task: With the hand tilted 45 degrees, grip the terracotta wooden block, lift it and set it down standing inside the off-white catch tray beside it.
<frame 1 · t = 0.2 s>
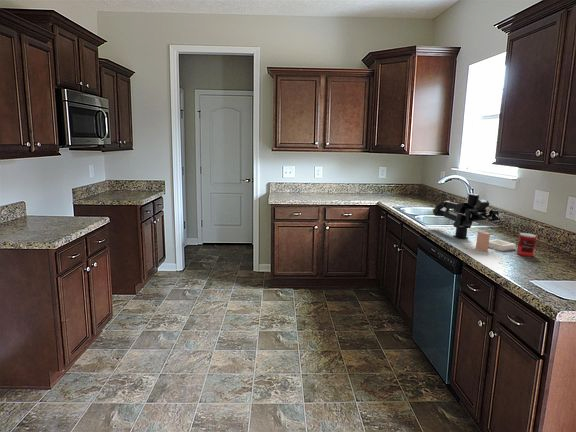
hand: (492, 219, 228), 17 cm above the worktop, tool horizontal, fingers open, 9 cm apart
canned food: (524, 255, 222), on the worktop
catch tray: (499, 247, 234), on the worktop
terracotta block: (481, 249, 228), on the worktop
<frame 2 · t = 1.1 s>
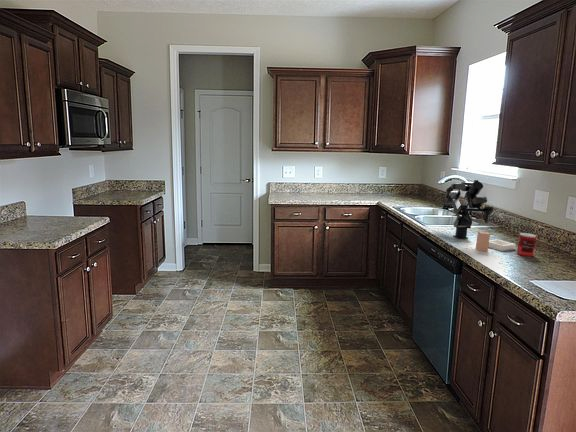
hand: (478, 222, 233), 13 cm above the worktop, tool tilted 45°, fingers open, 9 cm apart
nothing on the worktop moved.
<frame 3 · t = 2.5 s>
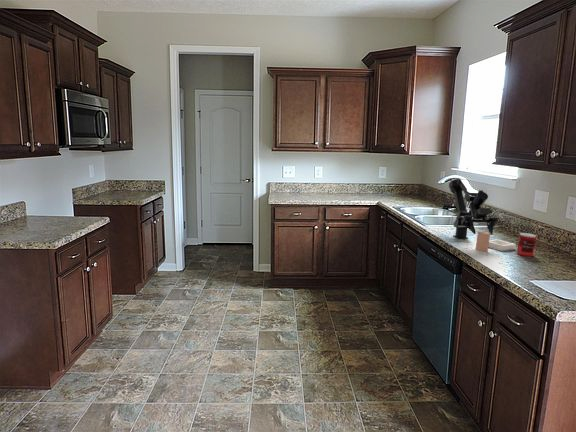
hand: (483, 234, 227), 9 cm above the worktop, tool tilted 45°, fingers open, 9 cm apart
nothing on the worktop moved.
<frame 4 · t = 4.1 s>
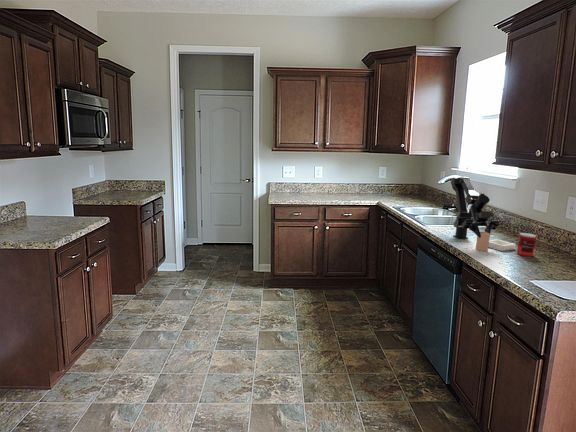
hand: (484, 237, 225), 7 cm above the worktop, tool tilted 45°, fingers closed on terracotta block, 4 cm apart
terracotta block: (481, 249, 228), on the worktop, touching gripper
everything else where it was.
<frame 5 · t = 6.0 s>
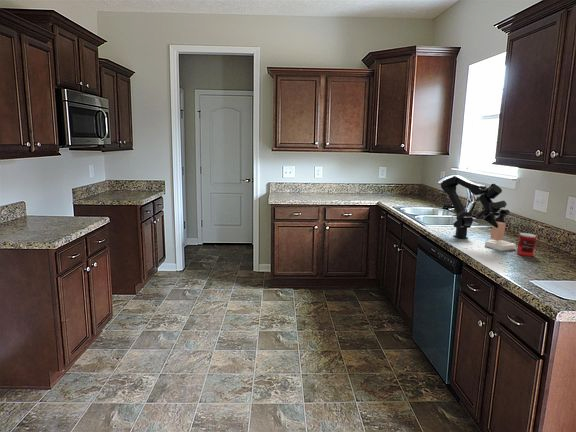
hand: (500, 227, 228), 12 cm above the worktop, tool tilted 45°, fingers closed on terracotta block, 4 cm apart
terracotta block: (496, 239, 231), point 5 cm above the worktop, touching gripper
everything else where it was.
when the fingers open (9 cm above the worktop, at t = 8.0 s): terracotta block drops 1 cm, resting on catch tray.
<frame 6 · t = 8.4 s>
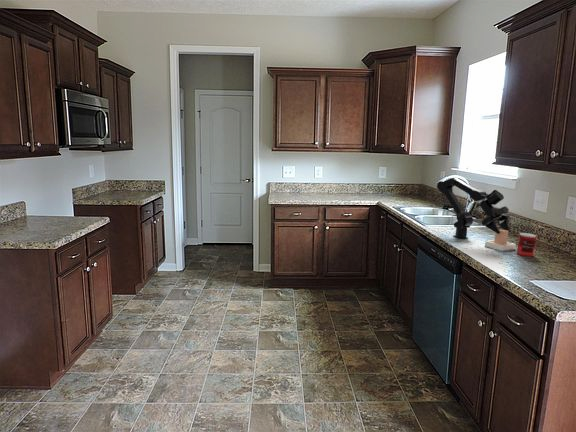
hand: (504, 232, 231), 9 cm above the worktop, tool tilted 45°, fingers open, 9 cm apart
terracotta block: (499, 246, 234), point 1 cm above the worktop, touching catch tray
everything else where it was.
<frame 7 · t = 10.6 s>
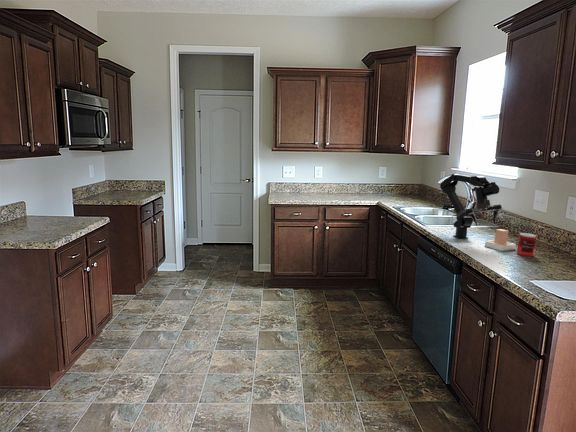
hand: (485, 224, 237), 12 cm above the worktop, tool tilted 20°, fingers open, 9 cm apart
nothing on the worktop moved.
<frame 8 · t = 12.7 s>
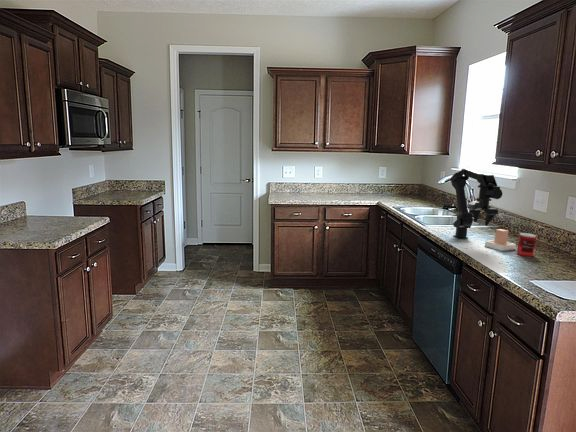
hand: (480, 223, 238), 12 cm above the worktop, tool pointing down, fingers open, 9 cm apart
nothing on the worktop moved.
at the end: terracotta block 0.0 cm off-centre on the catch tray, point 0.6 cm above the catch tray's base; terracotta block tilted 0°; the gripper is holding nothing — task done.
